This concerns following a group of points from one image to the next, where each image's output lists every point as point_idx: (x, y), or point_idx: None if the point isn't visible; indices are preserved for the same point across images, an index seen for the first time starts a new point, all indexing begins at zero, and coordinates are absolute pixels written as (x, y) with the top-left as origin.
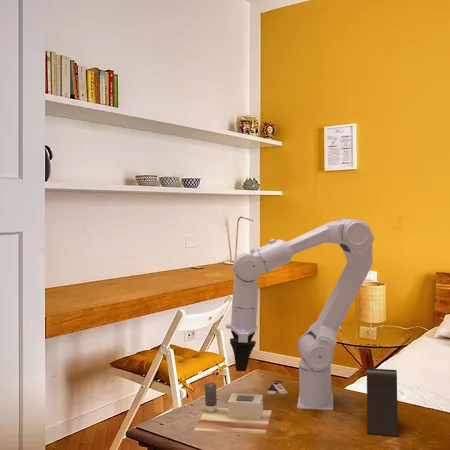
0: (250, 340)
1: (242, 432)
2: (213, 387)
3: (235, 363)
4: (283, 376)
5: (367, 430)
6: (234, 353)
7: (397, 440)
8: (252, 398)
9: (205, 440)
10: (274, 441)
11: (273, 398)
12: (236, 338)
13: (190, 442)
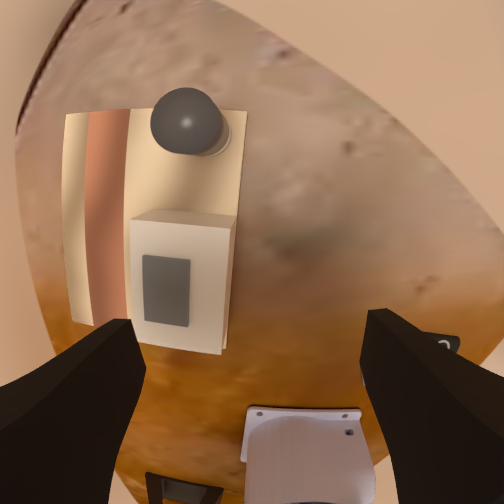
0: (401, 500)
1: (66, 262)
2: (158, 143)
3: (79, 341)
4: (487, 354)
5: (145, 476)
6: (10, 386)
7: (138, 487)
8: (161, 321)
9: (33, 164)
10: (61, 334)
11: (341, 348)
12: (461, 439)
13: (24, 128)
